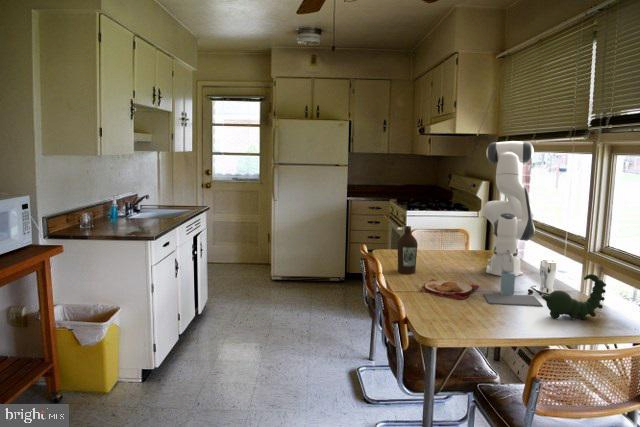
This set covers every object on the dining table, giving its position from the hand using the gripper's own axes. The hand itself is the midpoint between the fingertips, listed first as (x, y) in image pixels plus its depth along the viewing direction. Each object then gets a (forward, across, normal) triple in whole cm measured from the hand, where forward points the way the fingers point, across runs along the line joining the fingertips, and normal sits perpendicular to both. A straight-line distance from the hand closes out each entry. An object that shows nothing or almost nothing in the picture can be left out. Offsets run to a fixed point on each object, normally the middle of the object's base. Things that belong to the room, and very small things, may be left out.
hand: (504, 277), depth 236 cm
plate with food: (+7, -4, +27) cm, 28 cm away
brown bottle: (+6, +27, +45) cm, 53 cm away
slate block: (+6, -6, 0) cm, 9 cm away
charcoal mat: (+6, -16, 0) cm, 17 cm away
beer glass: (+6, 0, -19) cm, 20 cm away
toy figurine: (+7, -36, -18) cm, 41 cm away
